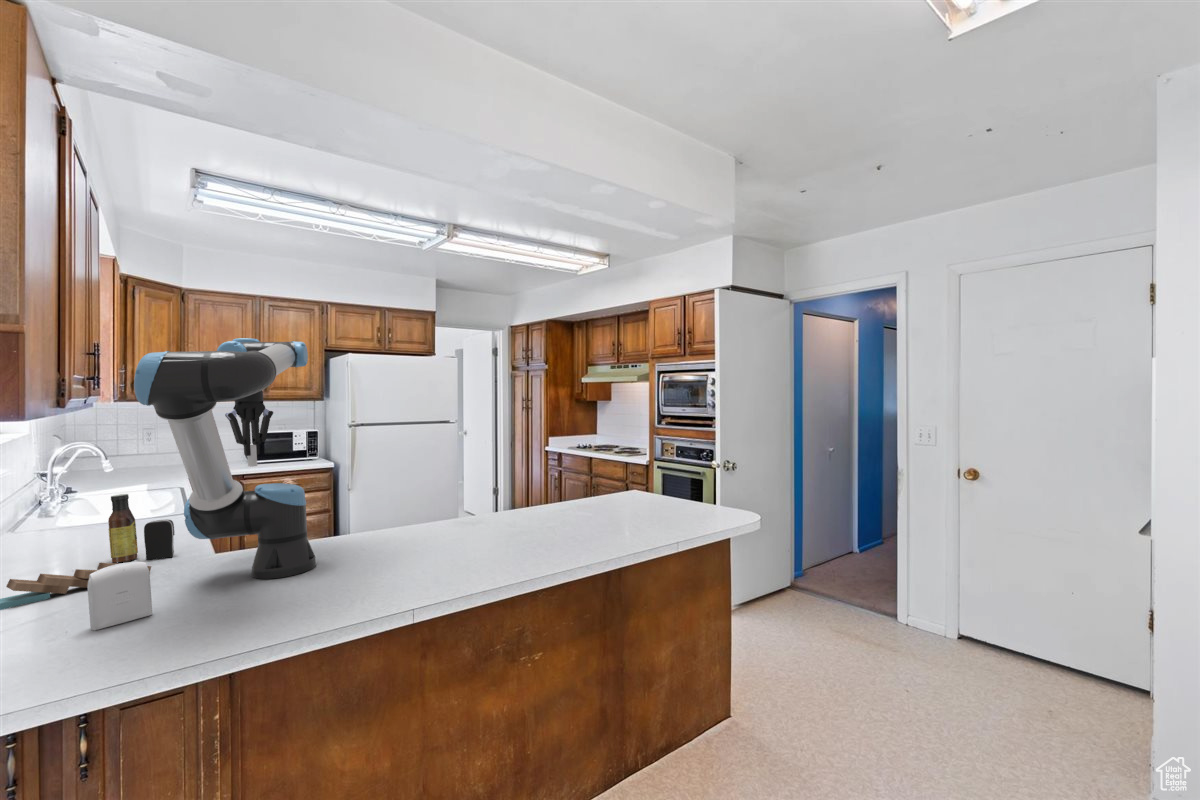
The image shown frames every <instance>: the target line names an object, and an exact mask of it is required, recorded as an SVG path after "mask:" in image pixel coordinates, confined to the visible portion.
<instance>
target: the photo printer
mask: <svg viewBox="0 0 1200 800" xmlns="http://www.w3.org/2000/svg"><path fill="white" fill-rule="evenodd" d="M147 566H148V563H146V562H144V561H131V562H130V561H127V562H123V563H116V565H112V566H108V567H105V568H103V569H100V570H98V571H96V572H93V573H92V574H90V575H89V580H88V588H87V597H88V599H87V600H88V610H89V612H88V613H89V624H90V630H92V631H99V630H102V629H105V628H108V627H109V628H110V627H112V626H116V625H120V624H124V623H127V622H131V621H135V620H138V619H141V618H145V617H149V616H151V615H152V614H153V604H152V603H153V601H152V587H151V586H152V585H151V576H150V575H151V574H150V572H151V571H150V572H149V569H148V567H147Z"/></svg>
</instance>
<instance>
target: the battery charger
mask: <svg viewBox="0 0 1200 800" xmlns="http://www.w3.org/2000/svg"><path fill="white" fill-rule="evenodd" d="M175 535H176V534H175V523H174V521H173V520H171V519H159V520H151V521H149V522H147V523H146V524H144V526H143V538H144V547H145V548H144V549H145V560H146V561H153V560H162V559H168V558H173V557H174V556H175V550H174V536H175Z"/></svg>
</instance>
